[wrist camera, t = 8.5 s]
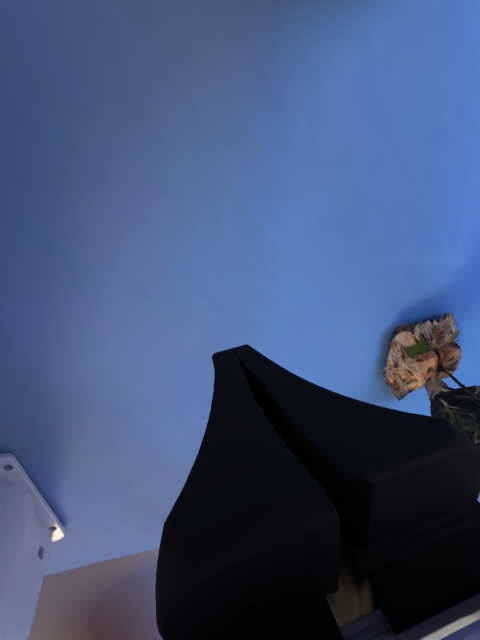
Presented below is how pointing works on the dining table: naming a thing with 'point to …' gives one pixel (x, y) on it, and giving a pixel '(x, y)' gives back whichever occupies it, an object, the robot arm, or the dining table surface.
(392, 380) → the plant with pod
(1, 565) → the robot arm
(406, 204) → the dining table surface
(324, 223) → the dining table surface
